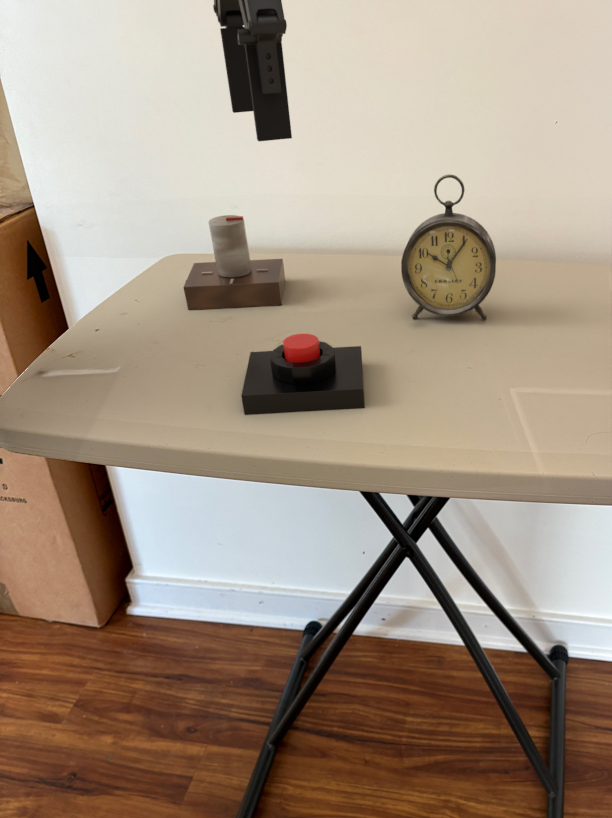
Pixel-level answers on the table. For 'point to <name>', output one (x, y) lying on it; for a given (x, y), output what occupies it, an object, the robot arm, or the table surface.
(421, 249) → the alarm clock
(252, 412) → the switch block
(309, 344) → the light button
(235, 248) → the dimmer knob
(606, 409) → the table surface
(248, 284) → the panel
